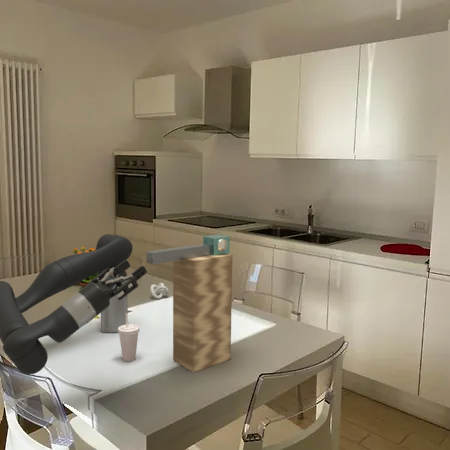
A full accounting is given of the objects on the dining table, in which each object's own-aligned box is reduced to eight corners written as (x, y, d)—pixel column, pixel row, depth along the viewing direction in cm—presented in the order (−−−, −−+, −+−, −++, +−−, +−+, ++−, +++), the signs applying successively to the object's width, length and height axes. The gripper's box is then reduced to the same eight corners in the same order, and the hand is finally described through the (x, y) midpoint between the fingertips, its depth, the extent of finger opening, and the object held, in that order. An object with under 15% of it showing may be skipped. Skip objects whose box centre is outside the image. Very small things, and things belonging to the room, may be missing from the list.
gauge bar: (155, 265, 124) (155, 246, 123) (144, 261, 128) (144, 243, 127) (230, 253, 141) (230, 236, 140) (218, 250, 145) (218, 234, 144)
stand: (193, 372, 134) (194, 261, 130) (173, 360, 142) (173, 255, 137) (230, 359, 143) (232, 255, 139) (209, 348, 151) (210, 249, 146)
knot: (171, 295, 209) (171, 282, 208) (166, 300, 201) (166, 287, 200) (155, 294, 210) (155, 281, 209) (149, 299, 202) (148, 286, 201)
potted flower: (106, 291, 212) (105, 253, 210) (53, 290, 213) (52, 252, 210) (119, 277, 237) (119, 243, 235) (72, 277, 237) (71, 242, 235)
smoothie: (119, 354, 145) (119, 310, 143) (140, 354, 146) (140, 310, 144) (116, 363, 139) (116, 317, 137) (138, 363, 140) (138, 317, 138)
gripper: (90, 300, 109) (144, 258, 117) (66, 287, 119) (116, 249, 127) (106, 324, 112) (157, 282, 120) (80, 309, 123) (129, 271, 131)
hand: (136, 265), depth 124 cm, fingers open, 8 cm apart
